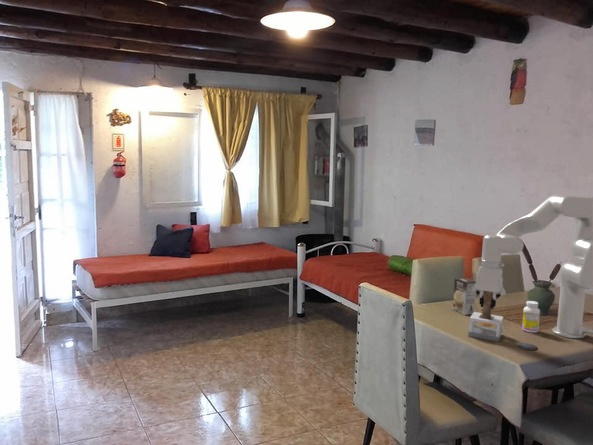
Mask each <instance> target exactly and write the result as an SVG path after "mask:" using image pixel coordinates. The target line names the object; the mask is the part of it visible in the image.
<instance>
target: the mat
mask: <svg viewBox="0 0 593 445" xmlns="http://www.w3.org/2000/svg"><path fill="white" fill-rule="evenodd" d="M517 347H518V348H520V349H522V350H526V351H537V350H538V346H537V345H534V344H531V343H528V342H522V343H521V342H520V343H518V344H517Z"/></svg>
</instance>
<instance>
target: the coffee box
mask: <svg viewBox="0 0 593 445" xmlns="http://www.w3.org/2000/svg"><path fill="white" fill-rule="evenodd" d="M475 284H476V281H475V280H473V279H470V278H467V277H457V278H454V286H453V297H452V299H453V300H452V310H453V311H455V312H456V313H458V314H462V315H464V316H465V315H466V316H468V315H472V314H473V313H474V312H475V306H476V305H475V304H476V303H475V302H476V294H477V293H476V292H474V291H473V290H472V287H473V286H474V285H475Z"/></svg>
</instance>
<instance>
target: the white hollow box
mask: <svg viewBox="0 0 593 445" xmlns="http://www.w3.org/2000/svg"><path fill="white" fill-rule="evenodd" d="M477 322H478V323H481V322H483V323H489V324H491V325H496V328H492V327H485V326H482V325H481V326H479V325H477ZM503 324H504V316H501V315H496V314H491V320H489V319H483V318H482V312H477V311H474V313H473V314H470V317H469V323H468V335H467V336H468V337H471V338H476V339H482V340H487V341H492V342H499V341H500V339H501V337H502V335H503Z"/></svg>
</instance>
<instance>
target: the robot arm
mask: <svg viewBox="0 0 593 445" xmlns="http://www.w3.org/2000/svg"><path fill="white" fill-rule="evenodd" d="M560 216H563V217H568V218H574V221H575V229H574V232H573V234H572V235H573V236H572V240H571V243H570V245H569V253H570V255H571V257H572V258H573V259H577V260H580V261H582V262H583V263H582V262H581V263H580V262H577V261H567V262H565V263H563V264H562V265H561V267H560V269H559V281H560V283H559V284H560V287H559V288H560V290H559V300H558V301H559V302H558V311H557V321H556V322H557V323H556V326H554V327H553V328H552V332H553V333H554V334H556V335H558V336H561V337H564V338H570V339H582V338H583V339H584V338H585V337H586V334H589V335H593V329H591V328H590V327H585V326H583V325H584V324H583V318H584V311H585V310H584V309H585V300H586V292H585V290H593V196H587V195H569V194H568V195H566V194H558V193H556V194H552V195H550V196H549V197H547V198H546V199H544V201H543V202H541V203H540V204H539V205H538V206H537V207H535V208H534V209H533V210H532V211H530V213H527V215H524V216H522V217H520V218H518V219H516V220H513V221H512V222H510V223H508V224H507V225H505V226H504V227H503V228H502V229H501V230H500V231H498V232H497V233H496V234H486V235H484V236H483V237H482V250H481V259H480V260H481V262H480V263H481V264H480V265H479V267H478V271H477V274H476V281H475V282H476V284H475V285H474V286H473V287H472V290H473V291H474V292H476V294H477V295H478V297H479V301H478V302H479V303H478V304H479V305H480V308H483V296H484V291H489V292H493V299H492V303H491V309H492V310H493V309H494V308H496V307H497V306H496V304H497V299H499V298H500V297H502V296H505V295H506V293H507V292H506V290H505V288H504V286H503V280H504V276H503V269H502V267H505V263H503V262H502V254H508V255H517V254H519V253H521V252H523V250H524V242H523V240H522V239H521V238H520V237H522V236H524V235H527V234H531V233H537V232H540V231H543V230H545V229H546V228H547V227H548V226H549V225H550V224H552V223H553V222H554V221H555V220H557V219H558V218H559V217H560Z"/></svg>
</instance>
